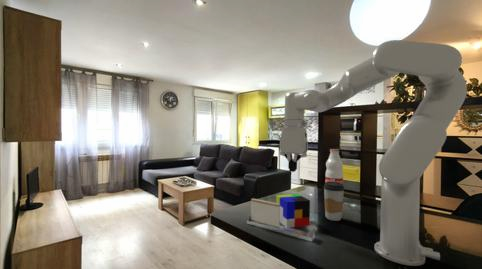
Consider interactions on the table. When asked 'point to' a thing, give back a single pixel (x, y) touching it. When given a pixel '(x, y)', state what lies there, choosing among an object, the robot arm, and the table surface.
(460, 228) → the table surface
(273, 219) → the screen
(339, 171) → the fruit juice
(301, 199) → the puzzle toy
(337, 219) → the coffee cup
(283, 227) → the rail
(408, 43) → the robot arm
